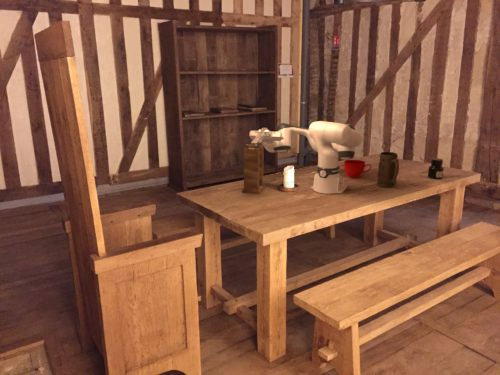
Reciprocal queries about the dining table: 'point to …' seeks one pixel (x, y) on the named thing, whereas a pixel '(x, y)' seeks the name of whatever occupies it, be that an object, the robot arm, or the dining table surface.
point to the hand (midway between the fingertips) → (263, 130)
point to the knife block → (253, 168)
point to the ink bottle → (436, 169)
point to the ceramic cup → (355, 168)
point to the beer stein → (387, 170)
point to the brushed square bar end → (259, 137)
